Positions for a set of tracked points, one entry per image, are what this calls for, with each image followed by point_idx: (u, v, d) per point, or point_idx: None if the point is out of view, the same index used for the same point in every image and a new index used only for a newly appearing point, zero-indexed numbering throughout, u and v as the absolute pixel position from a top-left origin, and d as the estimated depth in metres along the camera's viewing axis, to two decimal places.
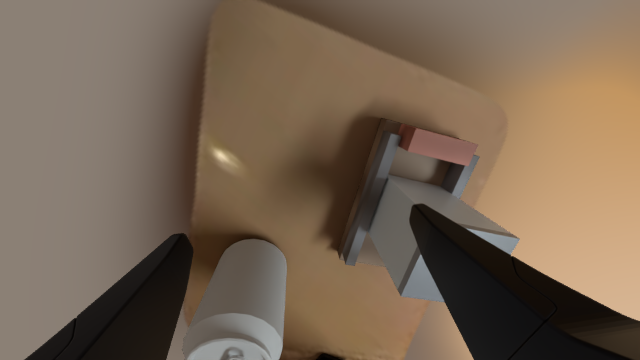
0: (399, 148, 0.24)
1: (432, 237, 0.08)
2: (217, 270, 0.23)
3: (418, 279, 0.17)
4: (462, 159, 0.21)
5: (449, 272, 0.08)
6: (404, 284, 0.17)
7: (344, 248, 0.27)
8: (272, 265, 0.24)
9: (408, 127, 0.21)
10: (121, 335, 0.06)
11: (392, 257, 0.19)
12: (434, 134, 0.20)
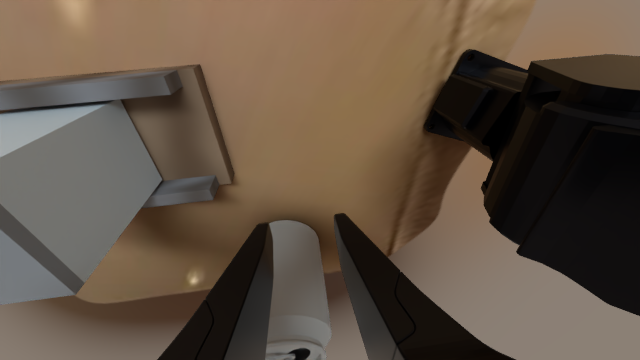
0: None
1: (342, 249, 0.08)
2: None
3: (27, 290, 0.11)
4: None
5: (353, 286, 0.08)
6: (58, 293, 0.11)
7: None
8: None
9: None
10: (247, 316, 0.06)
11: None
12: None
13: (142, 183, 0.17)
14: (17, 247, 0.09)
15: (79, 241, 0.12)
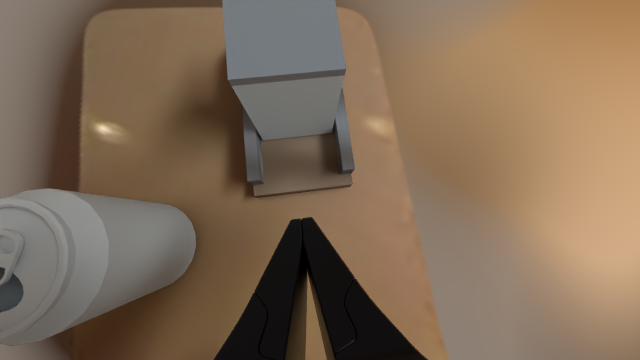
0: None
1: (305, 254, 0.08)
2: None
3: (239, 51, 0.13)
4: None
5: (313, 292, 0.08)
6: (227, 66, 0.13)
7: None
8: (150, 203, 0.19)
9: None
10: (296, 309, 0.06)
11: None
12: None
13: (271, 130, 0.20)
14: (290, 71, 0.13)
15: (265, 93, 0.15)
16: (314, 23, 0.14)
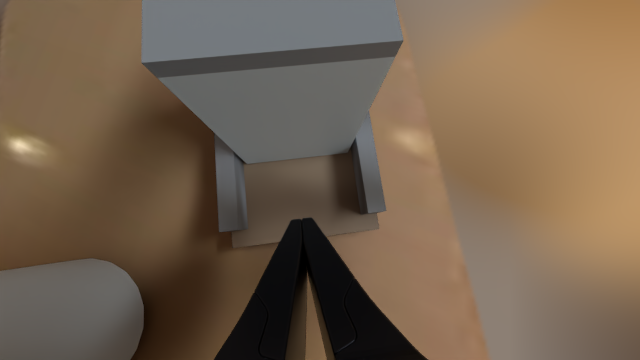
0: None
1: (305, 254, 0.08)
2: None
3: (172, 3, 0.06)
4: None
5: (313, 292, 0.08)
6: (147, 35, 0.06)
7: None
8: (57, 273, 0.12)
9: None
10: (296, 309, 0.06)
11: None
12: None
13: (258, 151, 0.13)
14: (282, 46, 0.06)
15: (235, 95, 0.08)
16: None
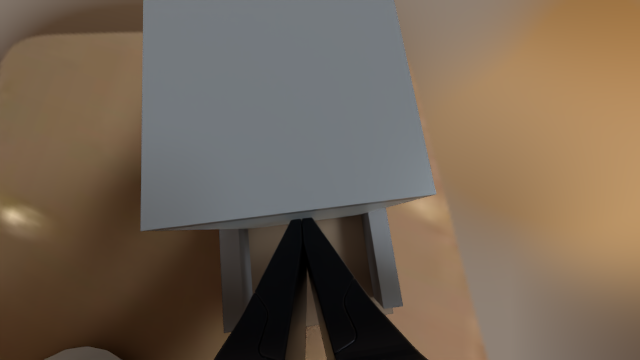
0: None
1: (305, 254, 0.08)
2: None
3: (175, 153, 0.05)
4: None
5: (313, 292, 0.08)
6: (147, 189, 0.05)
7: None
8: None
9: None
10: (296, 309, 0.06)
11: None
12: None
13: None
14: (299, 204, 0.05)
15: (244, 222, 0.07)
16: (356, 79, 0.06)
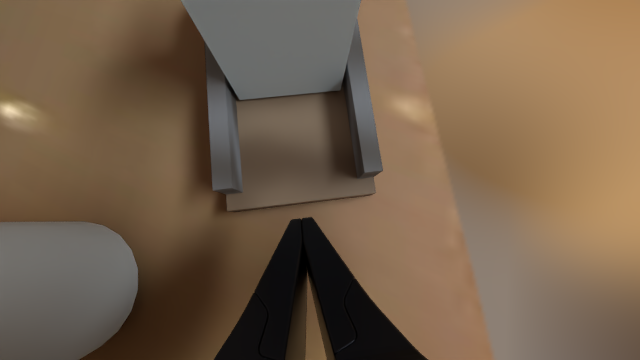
0: None
1: (305, 254, 0.08)
2: None
3: None
4: None
5: (313, 292, 0.08)
6: None
7: None
8: (48, 228, 0.11)
9: None
10: (296, 309, 0.06)
11: None
12: None
13: (249, 78, 0.13)
14: None
15: None
16: None
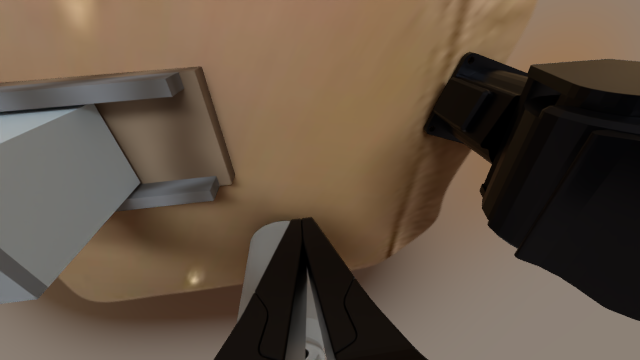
0: None
1: (305, 254, 0.08)
2: None
3: None
4: None
5: (313, 292, 0.08)
6: (21, 297, 0.12)
7: None
8: (247, 264, 0.23)
9: None
10: (296, 309, 0.06)
11: None
12: None
13: (117, 186, 0.17)
14: None
15: (43, 245, 0.12)
16: None
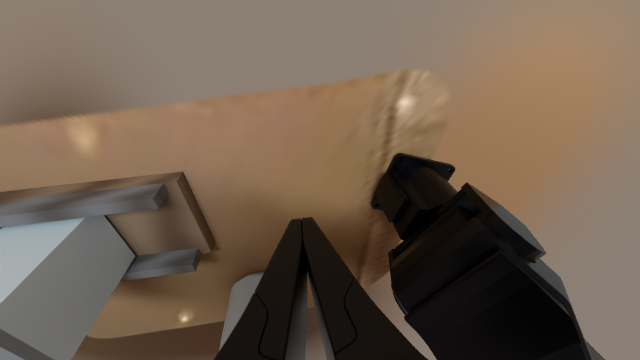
0: None
1: (305, 254, 0.08)
2: None
3: None
4: None
5: (313, 292, 0.08)
6: None
7: None
8: (226, 314, 0.27)
9: None
10: (296, 309, 0.06)
11: None
12: None
13: (116, 267, 0.21)
14: (17, 357, 0.14)
15: (62, 336, 0.16)
16: None
